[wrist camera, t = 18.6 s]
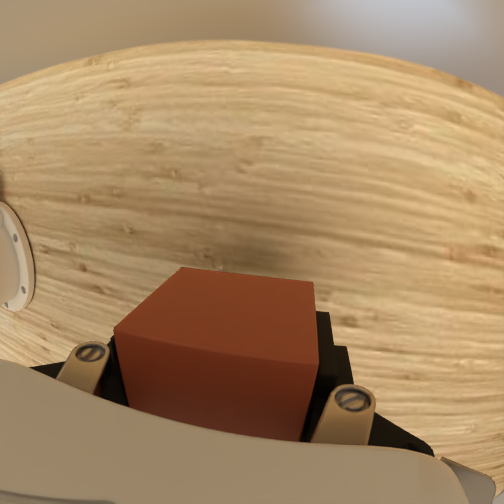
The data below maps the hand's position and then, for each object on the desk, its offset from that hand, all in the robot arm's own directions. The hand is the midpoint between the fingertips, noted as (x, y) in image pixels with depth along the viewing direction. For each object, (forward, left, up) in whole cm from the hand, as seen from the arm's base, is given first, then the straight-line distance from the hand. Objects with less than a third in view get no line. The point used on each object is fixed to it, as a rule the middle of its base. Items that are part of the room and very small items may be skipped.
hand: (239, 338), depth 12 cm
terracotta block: (0, 0, 0) cm, 0 cm away
